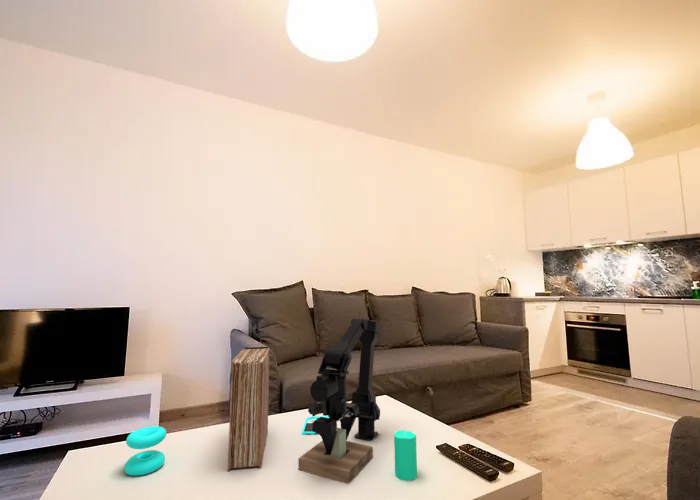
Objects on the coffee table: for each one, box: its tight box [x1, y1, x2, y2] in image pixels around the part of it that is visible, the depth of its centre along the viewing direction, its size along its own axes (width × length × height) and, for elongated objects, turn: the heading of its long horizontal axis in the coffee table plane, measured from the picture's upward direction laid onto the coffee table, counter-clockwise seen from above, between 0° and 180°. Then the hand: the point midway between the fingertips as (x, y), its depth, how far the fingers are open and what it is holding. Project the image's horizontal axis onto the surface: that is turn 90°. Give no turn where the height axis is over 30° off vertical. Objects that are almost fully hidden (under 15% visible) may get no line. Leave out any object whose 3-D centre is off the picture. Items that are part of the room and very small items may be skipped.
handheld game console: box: [301, 415, 330, 436], centre depth 127 cm, size 10×16×1 cm, turn 1°
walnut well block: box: [298, 440, 374, 485], centre depth 99 cm, size 16×16×3 cm
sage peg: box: [328, 427, 347, 459], centre depth 99 cm, size 4×4×9 cm
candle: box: [393, 429, 418, 482], centre depth 93 cm, size 6×6×12 cm
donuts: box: [123, 425, 167, 476], centre depth 97 cm, size 10×10×10 cm
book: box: [227, 346, 270, 472], centre depth 109 cm, size 25×9×30 cm, turn 9°
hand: (336, 447), depth 99 cm, fingers open, 9 cm apart
